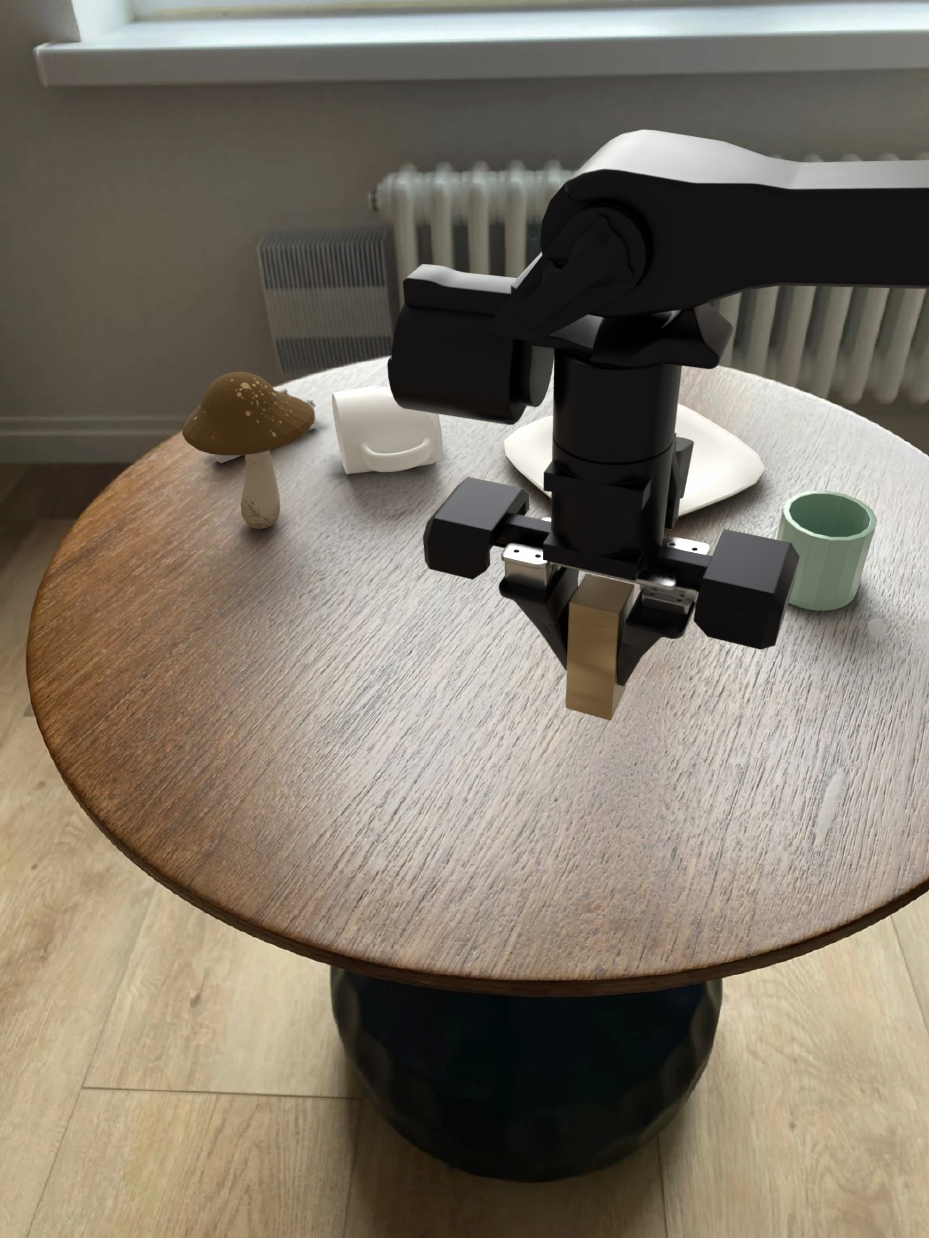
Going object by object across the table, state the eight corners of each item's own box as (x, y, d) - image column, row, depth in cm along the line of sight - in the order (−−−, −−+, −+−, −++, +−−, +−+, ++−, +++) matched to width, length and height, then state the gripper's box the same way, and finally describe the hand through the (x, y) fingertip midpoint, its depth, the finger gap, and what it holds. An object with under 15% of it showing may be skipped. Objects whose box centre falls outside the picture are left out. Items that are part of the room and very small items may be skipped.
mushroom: (338, 538, 88) (316, 388, 78) (211, 562, 86) (173, 410, 76) (321, 487, 95) (299, 342, 85) (203, 508, 93) (167, 362, 83)
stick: (625, 689, 57) (635, 583, 52) (611, 721, 56) (619, 614, 50) (580, 677, 58) (585, 572, 53) (565, 708, 56) (568, 602, 51)
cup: (861, 570, 82) (882, 501, 77) (849, 619, 77) (869, 548, 73) (778, 551, 84) (793, 483, 80) (760, 598, 80) (775, 528, 75)
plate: (479, 450, 99) (479, 436, 98) (649, 396, 107) (650, 381, 106) (605, 557, 84) (606, 541, 83) (790, 485, 92) (793, 469, 91)
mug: (337, 446, 101) (327, 375, 96) (424, 432, 102) (419, 362, 97) (354, 507, 92) (345, 433, 87) (450, 491, 93) (446, 417, 88)
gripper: (843, 390, 48) (789, 628, 58) (497, 338, 54) (502, 561, 64) (805, 506, 40) (750, 757, 50) (407, 430, 47) (429, 666, 57)
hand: (597, 673), depth 56 cm, fingers closed on stick, 3 cm apart
